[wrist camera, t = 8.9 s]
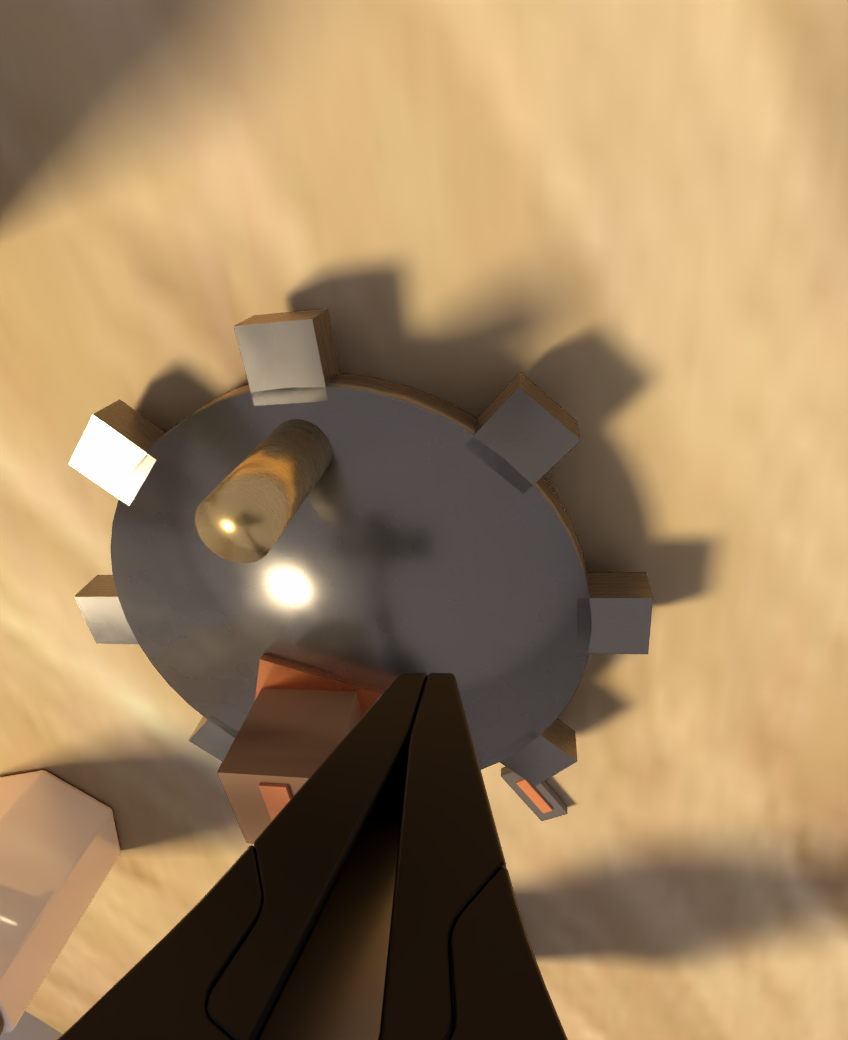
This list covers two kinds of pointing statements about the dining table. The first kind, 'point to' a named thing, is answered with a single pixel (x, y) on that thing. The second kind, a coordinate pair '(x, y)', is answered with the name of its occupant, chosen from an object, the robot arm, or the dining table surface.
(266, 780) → the link block
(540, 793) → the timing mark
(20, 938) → the jar
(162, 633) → the sprocket
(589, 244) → the dining table surface
